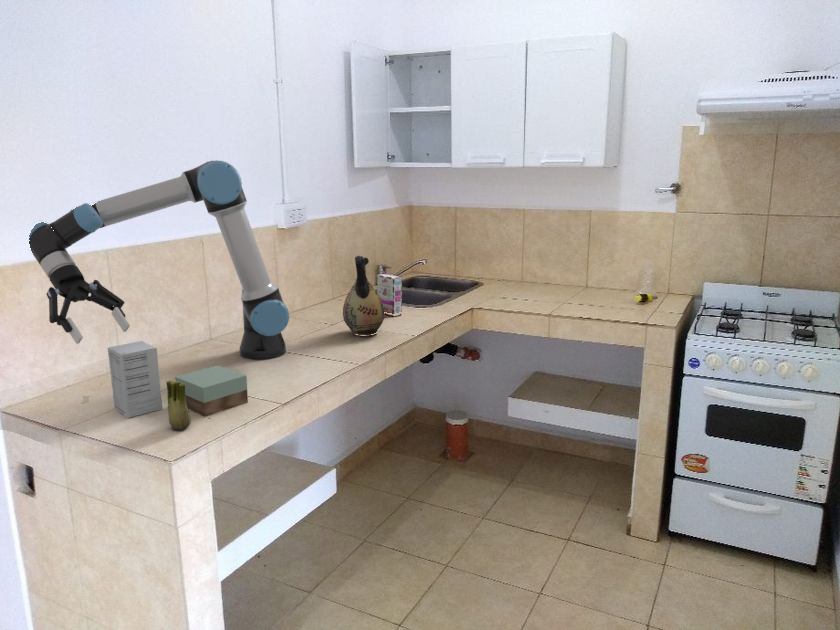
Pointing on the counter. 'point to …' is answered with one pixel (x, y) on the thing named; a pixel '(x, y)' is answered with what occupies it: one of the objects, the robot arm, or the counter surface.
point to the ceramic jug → (363, 303)
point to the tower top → (212, 383)
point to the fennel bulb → (177, 406)
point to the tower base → (217, 403)
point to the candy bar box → (390, 292)
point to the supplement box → (135, 378)
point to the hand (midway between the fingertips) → (104, 334)
